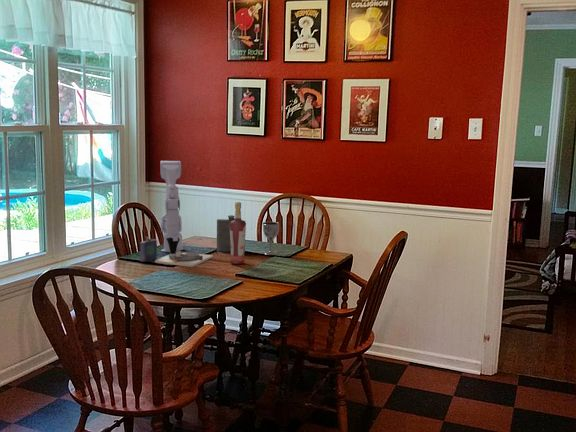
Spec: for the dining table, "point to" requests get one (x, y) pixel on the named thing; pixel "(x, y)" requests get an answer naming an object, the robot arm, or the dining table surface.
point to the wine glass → (270, 234)
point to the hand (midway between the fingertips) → (173, 253)
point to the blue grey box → (148, 249)
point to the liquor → (237, 237)
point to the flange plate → (183, 256)
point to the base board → (184, 263)
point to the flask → (224, 234)
